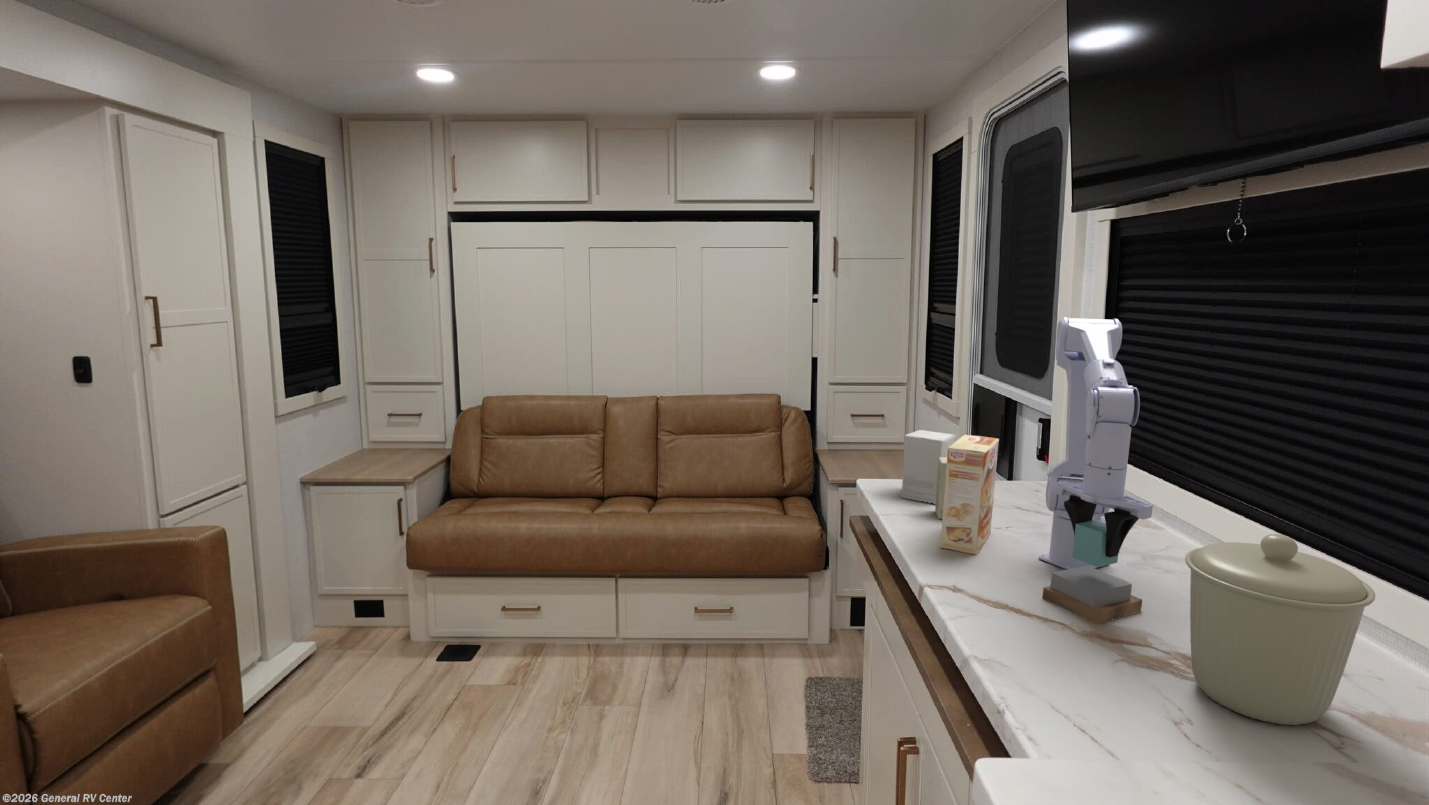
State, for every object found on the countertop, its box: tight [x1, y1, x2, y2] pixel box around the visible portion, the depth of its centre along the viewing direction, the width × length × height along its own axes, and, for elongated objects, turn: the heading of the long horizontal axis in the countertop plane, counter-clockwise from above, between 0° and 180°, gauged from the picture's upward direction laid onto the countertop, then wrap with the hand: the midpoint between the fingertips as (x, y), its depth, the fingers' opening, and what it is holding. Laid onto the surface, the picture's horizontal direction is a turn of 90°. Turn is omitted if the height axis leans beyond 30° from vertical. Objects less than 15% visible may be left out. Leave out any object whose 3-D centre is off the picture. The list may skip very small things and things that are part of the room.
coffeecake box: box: [939, 434, 1000, 556], centre depth 145 cm, size 15×7×20 cm, turn 150°
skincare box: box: [934, 457, 947, 520], centre depth 161 cm, size 6×4×12 cm
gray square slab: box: [1049, 566, 1133, 608], centre depth 118 cm, size 8×8×2 cm
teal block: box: [1072, 520, 1119, 568], centre depth 117 cm, size 4×4×6 cm
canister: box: [1184, 533, 1376, 726], centre depth 90 cm, size 18×18×21 cm
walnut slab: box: [1041, 585, 1143, 625], centre depth 119 cm, size 10×10×2 cm
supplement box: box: [901, 429, 957, 505], centre depth 174 cm, size 9×9×15 cm
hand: (1096, 550), depth 117 cm, fingers closed on teal block, 4 cm apart
